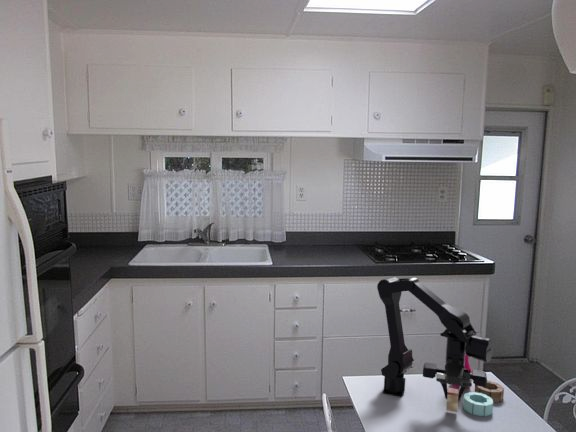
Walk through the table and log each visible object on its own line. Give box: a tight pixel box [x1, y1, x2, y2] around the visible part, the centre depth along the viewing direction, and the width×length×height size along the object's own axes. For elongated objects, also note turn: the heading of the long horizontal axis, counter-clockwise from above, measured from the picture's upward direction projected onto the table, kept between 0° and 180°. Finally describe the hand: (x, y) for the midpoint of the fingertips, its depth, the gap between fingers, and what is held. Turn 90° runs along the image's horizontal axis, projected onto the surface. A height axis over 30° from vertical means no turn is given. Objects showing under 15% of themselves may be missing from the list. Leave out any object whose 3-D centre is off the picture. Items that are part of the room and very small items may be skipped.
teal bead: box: [462, 391, 494, 417], centre depth 153 cm, size 9×9×4 cm
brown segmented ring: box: [474, 379, 505, 403], centre depth 162 cm, size 9×9×4 cm
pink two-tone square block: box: [446, 387, 459, 413], centre depth 149 cm, size 3×3×6 cm
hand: (452, 400), depth 149 cm, fingers closed on pink two-tone square block, 3 cm apart
